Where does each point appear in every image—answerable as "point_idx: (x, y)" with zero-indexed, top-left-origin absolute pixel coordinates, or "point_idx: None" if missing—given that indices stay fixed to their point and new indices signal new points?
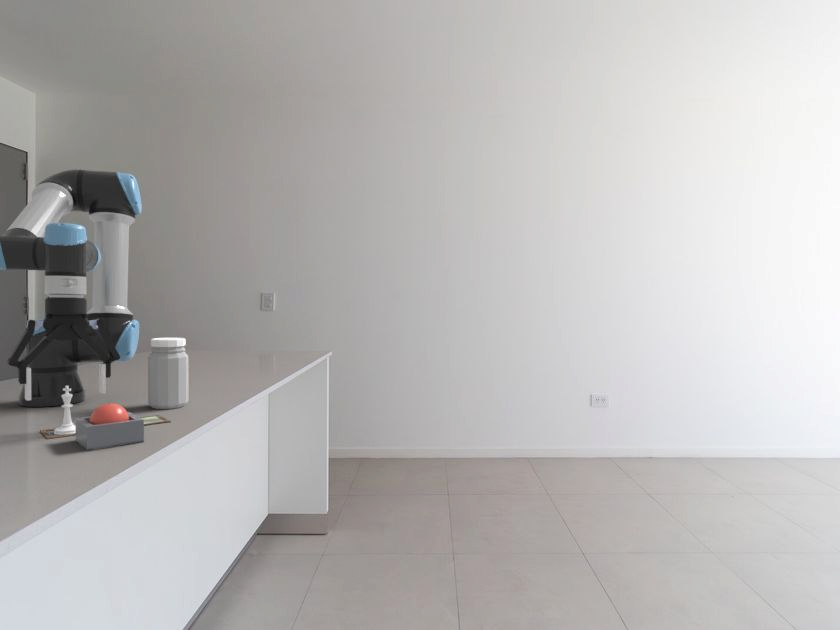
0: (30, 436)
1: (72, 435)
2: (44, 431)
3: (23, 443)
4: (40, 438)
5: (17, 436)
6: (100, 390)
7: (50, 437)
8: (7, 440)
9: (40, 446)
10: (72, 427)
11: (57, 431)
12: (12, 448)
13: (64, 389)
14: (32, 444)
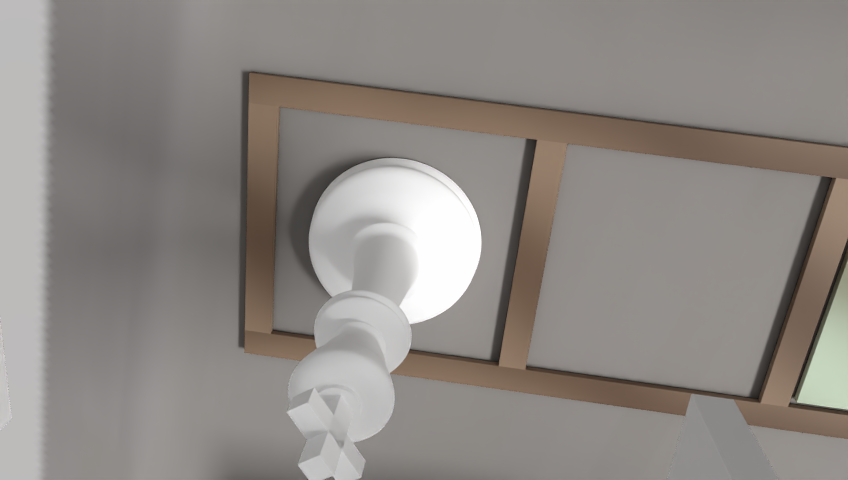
0: (174, 194)
1: None
2: (266, 144)
3: (121, 350)
4: (217, 297)
5: (104, 128)
6: (681, 474)
7: (262, 350)
8: (45, 204)
9: (188, 477)
10: (411, 299)
11: (318, 278)
12: (64, 418)
13: (302, 426)
14: (159, 408)
